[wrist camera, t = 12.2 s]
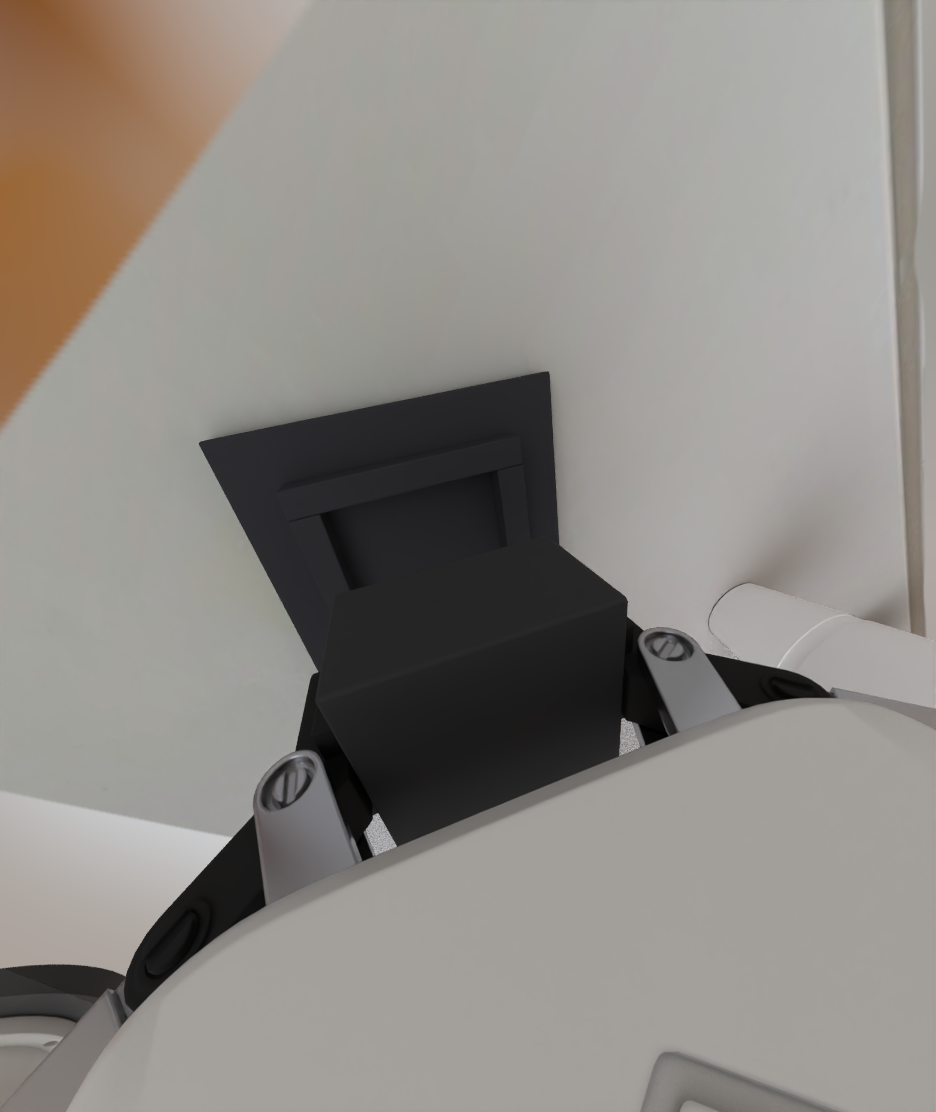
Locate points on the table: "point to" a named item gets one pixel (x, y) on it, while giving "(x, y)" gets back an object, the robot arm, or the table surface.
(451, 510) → the base pad
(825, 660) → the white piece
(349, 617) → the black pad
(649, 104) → the table surface
